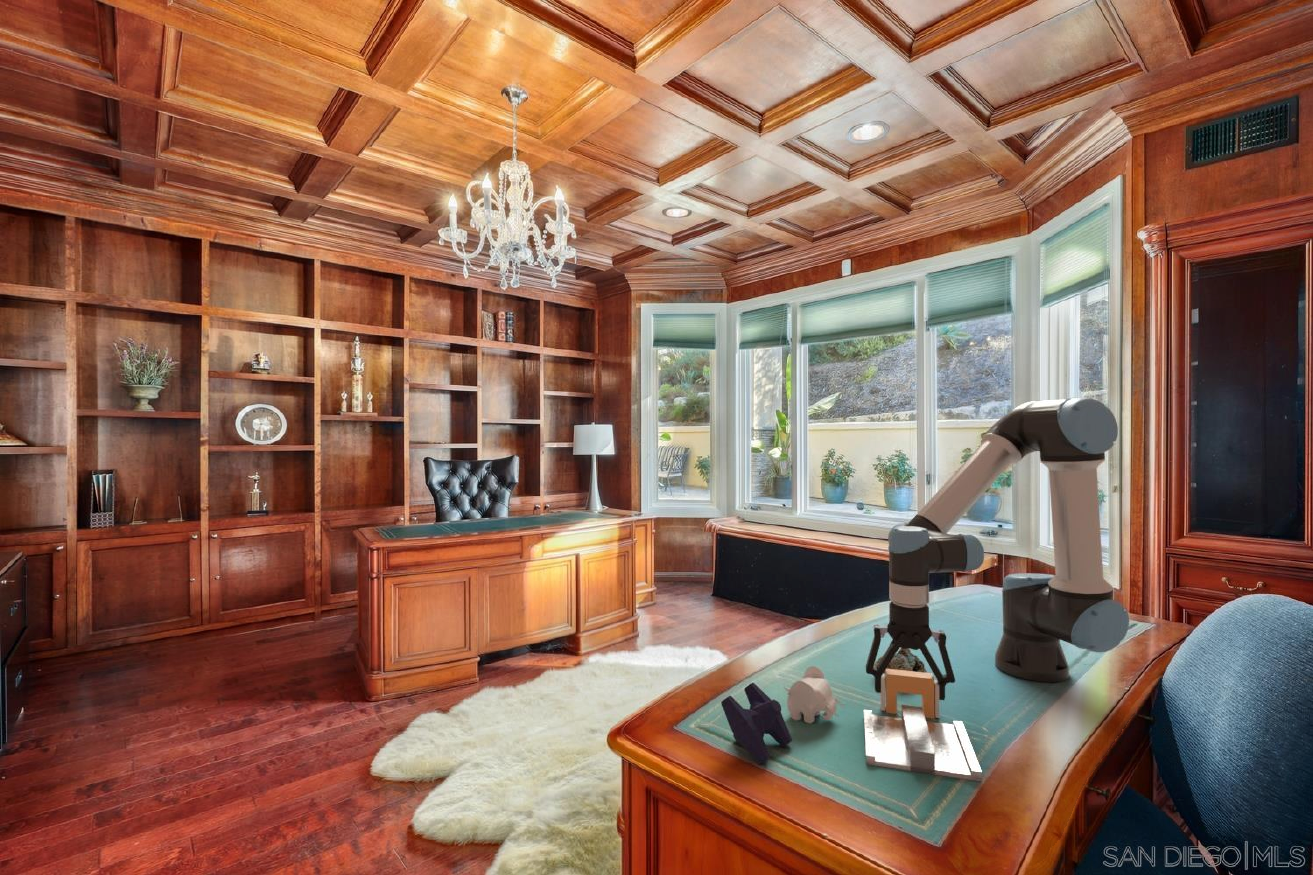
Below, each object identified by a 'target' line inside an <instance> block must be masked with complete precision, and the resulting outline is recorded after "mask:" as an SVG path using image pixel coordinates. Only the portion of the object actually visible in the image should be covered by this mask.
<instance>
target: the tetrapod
mask: <svg viewBox="0 0 1313 875" xmlns="http://www.w3.org/2000/svg"><path fill="white" fill-rule="evenodd" d="M743 690H744V693H745V695H746V698H747V701H748V703H749V708H744V707H743V706H742V705H741V704H740V703H739V702H738V701H736V700H735V698H734V697H733V696H731V695H729V696H727V697H726V698H724V699H723V700H721V702H720V704H721V707H722V710H723V712H724V715H725V717H726V719H727V720H726V721H727V723H728V725H729V728H730V730H731V733H732V734H733V738H734V741H736V742H738V743H739V744H740V746H741V747H742V748H743V749H745V750H746V751H747V753H748V754H749V755H750V756H751V757H752V758H753V759H754V760H756V762H757V763H758V765H763V764H764V763H765V762H767V761H768V760H769V759H771V755H770V752H769V749H768V747H767V745H766V743H765V740H764V737H765V735H770V736H771V738H772V739H773V740H775V741H776V743H778V744H779V745H780V747H782V748H785V747H786V746H787V745H789V744H790V743H791V742H793V738H792V736H791V734H790V733H791V732H790V730H789V729H788V727H787V724H786V722H785V719H784V716H783V715H782V706H781V704H780V703H779V701H777V700H776V699H771V697H769V696H768V695H767V694H766V692H764V691H763V690H762V689H761V688H760V687H759V686H758V685H757V684H755V682H752V683H749V684H748V685H747V686H745V687H744V689H743Z"/></svg>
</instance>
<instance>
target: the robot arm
mask: <svg viewBox="0 0 1313 875" xmlns="http://www.w3.org/2000/svg"><path fill="white" fill-rule="evenodd" d="M1118 434H1119V426H1118V423H1117V420H1116V417H1115V415H1114V413H1113V412H1112V411H1111V409H1110V408H1109V407H1107V406H1106V405H1105V403H1102V401H1101V400H1100V401H1099V400H1097V399H1094V398H1088V397H1087V398H1085V397H1084V398H1082V397H1081V398H1079V397H1071V398H1062V399H1061V398H1060V399H1048V400H1047V399H1046V400H1033V401H1028V402H1025V403H1022V404H1020V405H1018V406H1016V407H1015V408H1013V409H1012V410H1010V411H1009V412H1007V413H1006V414H1005V415H1003V416H1002V417H1001V418H1000V419H999V420H998V421H996V422H995V423H994V424H993V425H992V426H991V427H990V428H989V429H988V430H987V431H986V432H985V433H984V435H982V437H981V444H980V445H979V447H978V448H977V449H975V451H974V452H973V453H972V454H971V455H970V456H969V457H968V459H966V460H965V462H963V463H962V465H961V466H960V467H959V468H958V469H957V470H956V471H955V472H954V473H953V475H951V476H950V478H948V480H947V481H946V482H945V483H944V484H943V485H942V487H940V489H938V491H937V492H936V493H935V494H934V495H933V496H932V497H931V498H930V499H929V500H928V501H927V503H925V505H924V506H923V507H922V508H921V509H920V510H919V511H918V512H917V513H916V514H915V515H914V516H913V518H912V519H910V521H909V522H908V523H907V522H904V523H898V524H895V525H894V526H893V527H892V528H891V529H890V531H889V533H888V537H887V540H888V549H887V550H888V563H889V564H888V571H889V574H888V576H889V582H888V583H889V584H888V586H889V589H888V590H889V591H888V592H889V600H890V602H889V605H888V606H889V608H888V609H889V614H888V615H889V619H888V620H889V621H888V624H887V626H880V625H879V624H875V625H873V635H874V636H873V639H872V642H871V646H870V650H869V653H868V656H867V657H868V658H867V660H866V664H865V673H866V674H867V675H872V676H873V677H874V690H875V693H878V694H880V711H883V712H885V711H886V675H885V674H884V671H885V670H886V668H887V666H888V665H889V663H890V662H891V660H892V658H893V657H894V655H895V654H896V653H898V651H899V650H900V648H901V649H910V650H914V651H918V650H920V652H921V655H923V657H924V659H925V661H926V663H927V664H928V666H929V667H930V670H931V671H932V674H933V676H934V678H936V679H934V718H935V719H936V718H938V719H940V701H945V699H946V685H947V684H950V683H951V684H954V683H956V679H955V675H954V670H953V668H952V663H951V660H950V657H949V653H948V650H947V646H946V644H947V635H946V633H945V631H944V630H941V629H939V630H931V628H930V606H928V604H930V603H929V602H930V585H929V583H930V574H935V573H955V572H956V573H958V572H960V573H961V572H962V573H965V572H969V571H975V570H978V569H980V567H981V566H983V564H984V560H985V548H984V546H983V544H982V542H981V541H980V539H978V538H977V537H976V536H975V535H972V534H962V533H958V534H951V533H950V534H949V532H950V531H951V529H953V527H954V526H956V524H957V523H958V522H959V521H960V520H961V519H962V517H964V515H965V514H967V512H968V511H969V510H970V509H971V508H972V507H973V506H974V504H975V503H976V502H977V501H978V500H979V499H980V498H981V497H982V496H983V494H985V493H986V492H987V491H988V490H989V488H990V487H991V486H992V485H993V483H995V482H996V480H998V478H999V477H1000V476H1001V475H1002V474H1003V473H1004V472H1005V471H1006V470H1007V469H1008V468H1009V467H1010V465H1013V464H1014V465H1015V464H1018V463H1019V462H1021V461H1022V459H1023V458H1024V457H1026V456H1027V455H1029V454H1031V453H1035V452H1039V460H1040V463H1041V464H1043V466H1045V467H1046V468H1047V469H1048V473H1049V474H1048V475H1049V476H1048V477H1049V490H1050V491H1049V492H1050V507H1051V521H1052V522H1051V524H1052V538H1053V540H1052V541H1053V553H1054V554H1053V556H1054V557H1053V558H1054V569H1055V570H1054V571H1055V574H1049V573H1048V574H1047V573H1036V572H1035V573H1034V572H1032V573H1030V572H1029V573H1023V572H1022V573H1021V572H1020V573H1009V574H1008V575H1006V576H1005V577H1004V578H1003V582H1002V584H1003V585H1002V590H1001V592H1002V594H1001V595H1002V596H1001V597H1002V637H1001V638H1000V641H999V644H998V646H997V648H996V652H995V654H994V665H995V666H996V668H997V669H998V670H1000V671H1001V672H1003V673H1005V674H1008V675H1011V676H1013V677H1016V678H1020V679H1024V680H1028V681H1034V682H1040V683H1058V682H1064V681H1066V680H1068V679H1069V677H1070V666H1069V664H1068V661H1067V658H1066V655H1065V653H1064V649H1063V647H1062V645H1061V641H1062V642H1065V643H1068V644H1071V645H1073V646H1075V648H1076V647H1077V648H1078V649H1081V650H1086V651H1090V652H1093V653H1106V652H1110V651H1112V650H1113V649H1115V648H1117V647H1118V646H1119V645H1120V644H1121V642H1122V641H1124V639H1125V637H1126V636H1127V633H1128V631H1129V626H1130V616H1129V611H1128V610H1127V609H1126V608H1125V607H1124V605H1123V604H1122V603H1120V602H1119V601H1118V600H1114V588H1113V585H1112V584H1110V583H1109V582H1108V581H1107V580H1106V579H1104V569H1103V567H1104V566H1103V552H1102V550H1103V549H1102V536H1101V533H1102V532H1101V519H1100V518H1101V517H1100V516H1101V515H1100V502H1099V488H1098V487H1099V484H1098V471H1097V469H1098V467H1100V465H1101V464H1102V463H1104V462H1105V460H1106V452H1108V451H1109V450H1110V449H1112V448H1113V447H1114V445H1115V443H1114V442H1116V441H1117V439H1118ZM886 634H888V635H889V636H890V638H891V639H892V640H891V641H890V643H889V646H888V648H887V649H886V651H885V652H884V654H883V655H882V656H883V657H882V656H881V657H882V659H881V660H880V662H879V664H878V665H877V667H876V668H875V667H874V665H875V663H876V659H877V656H878V652H879V649H880V645H881V641H882V639H883V638H884V637H885V635H886ZM931 637H932V638H933V640H934V642H935V643H937V645H938V650H939V652H940V656H941V659H942V663H943V667H944V671H945V674H943V673H942V672H941V670H940V668H939V667H938V665H937V663H936V661H935V659H934V658H933V656H932V653H931V652H930V650H929V649H928V647H927V645H926V643H927V642H928V641H929V640H930V639H931Z"/></svg>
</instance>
